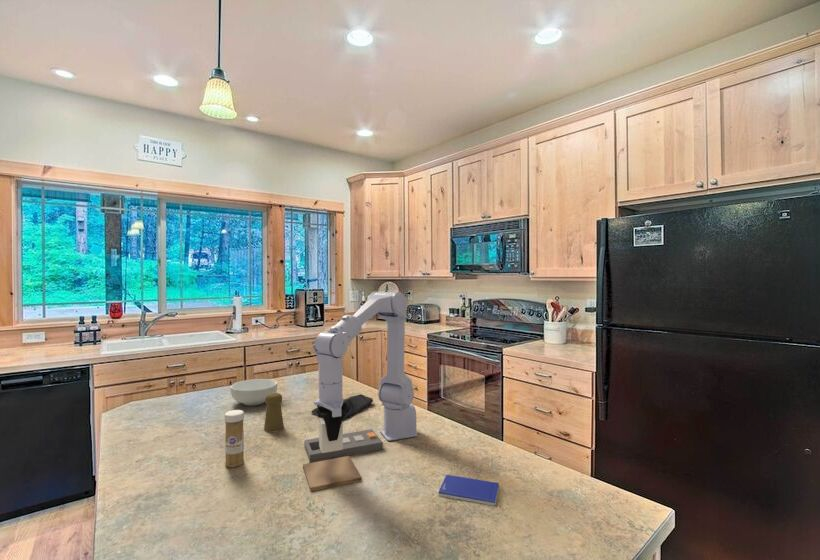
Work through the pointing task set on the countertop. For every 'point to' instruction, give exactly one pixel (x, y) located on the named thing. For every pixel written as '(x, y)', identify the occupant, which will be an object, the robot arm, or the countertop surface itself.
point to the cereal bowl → (253, 390)
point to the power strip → (345, 445)
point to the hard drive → (469, 489)
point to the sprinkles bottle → (234, 438)
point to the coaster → (331, 473)
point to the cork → (273, 413)
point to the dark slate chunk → (350, 405)
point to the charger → (325, 443)
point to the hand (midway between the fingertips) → (331, 436)
